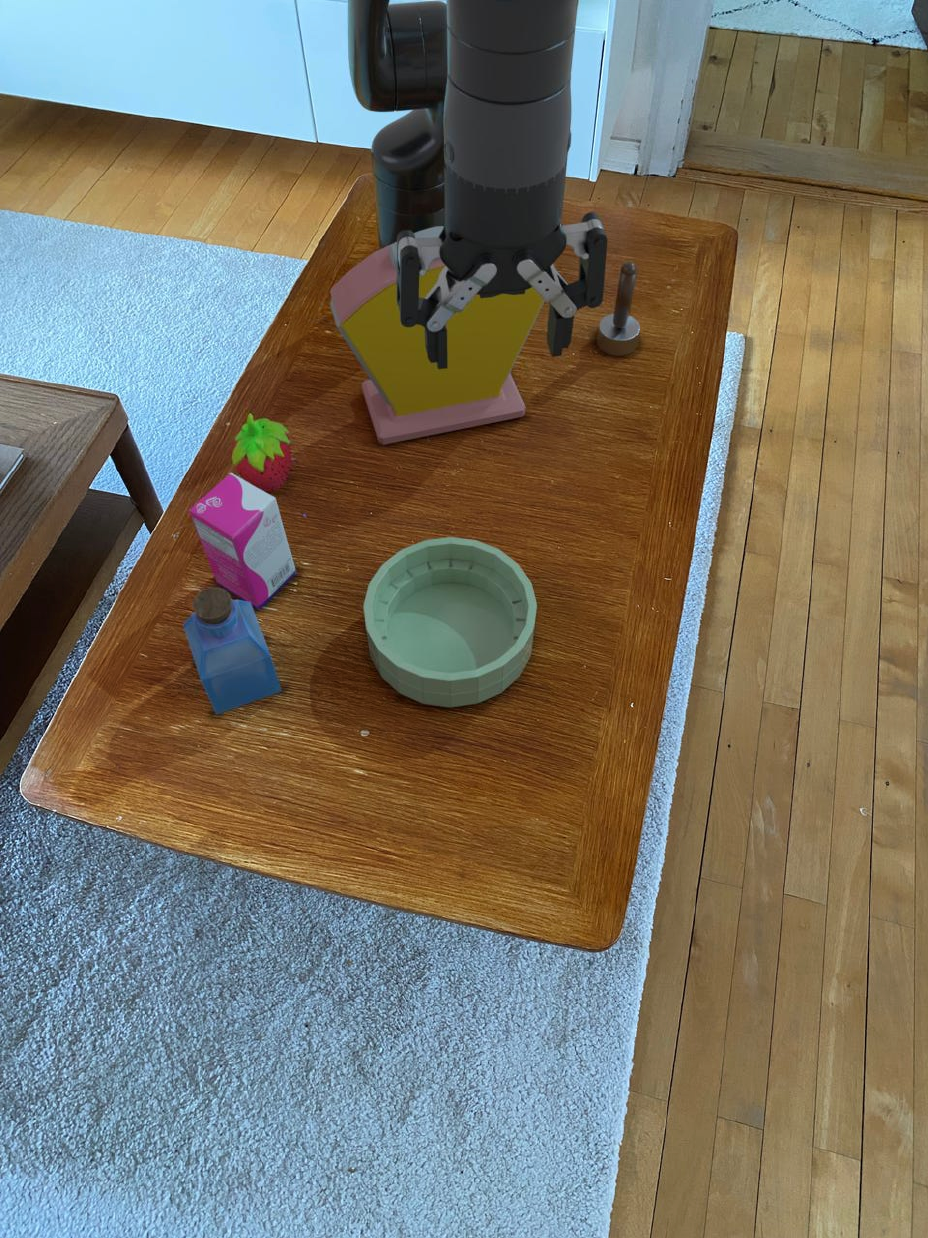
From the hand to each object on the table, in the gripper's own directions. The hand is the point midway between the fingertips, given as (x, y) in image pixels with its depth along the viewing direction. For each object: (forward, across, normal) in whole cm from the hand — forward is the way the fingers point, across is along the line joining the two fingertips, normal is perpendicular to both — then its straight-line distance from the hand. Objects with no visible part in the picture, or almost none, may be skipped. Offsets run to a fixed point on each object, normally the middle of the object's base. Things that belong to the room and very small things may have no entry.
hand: (497, 355), depth 72 cm
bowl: (+29, +5, +6) cm, 30 cm away
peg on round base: (+29, -21, -32) cm, 48 cm away
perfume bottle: (+29, +25, +7) cm, 39 cm away
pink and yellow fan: (+29, +1, -25) cm, 38 cm away
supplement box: (+29, +23, -4) cm, 37 cm away
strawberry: (+29, +21, -16) cm, 39 cm away
